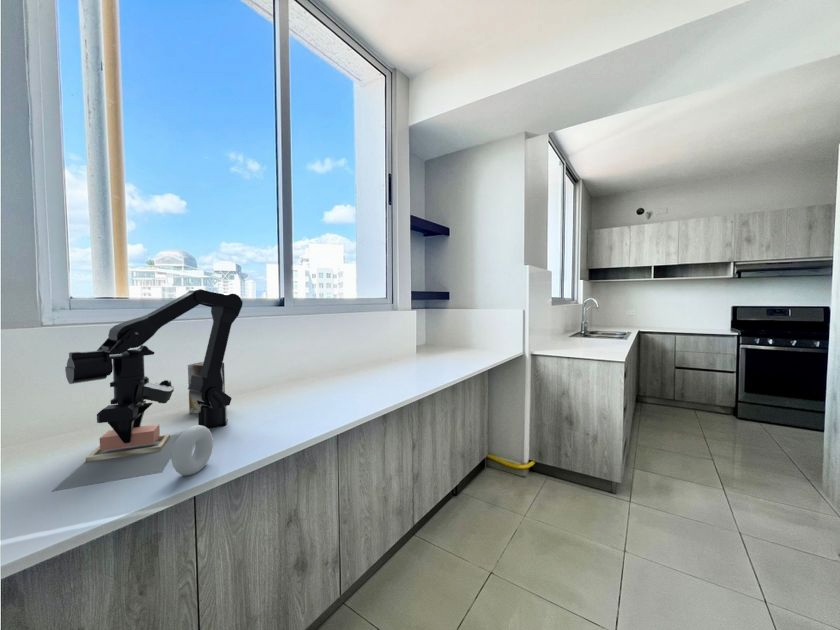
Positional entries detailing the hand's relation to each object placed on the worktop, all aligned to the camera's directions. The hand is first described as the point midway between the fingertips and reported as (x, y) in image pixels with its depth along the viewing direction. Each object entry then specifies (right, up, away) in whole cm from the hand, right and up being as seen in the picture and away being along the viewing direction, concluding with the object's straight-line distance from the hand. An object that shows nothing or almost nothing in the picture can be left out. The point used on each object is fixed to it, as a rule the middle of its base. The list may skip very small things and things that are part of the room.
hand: (131, 438), depth 81 cm
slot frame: (0, -3, 0) cm, 3 cm away
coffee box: (-1, -2, +31) cm, 31 cm away
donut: (+22, -4, -10) cm, 25 cm away
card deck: (0, -1, 0) cm, 1 cm away
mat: (+4, -3, -4) cm, 6 cm away
